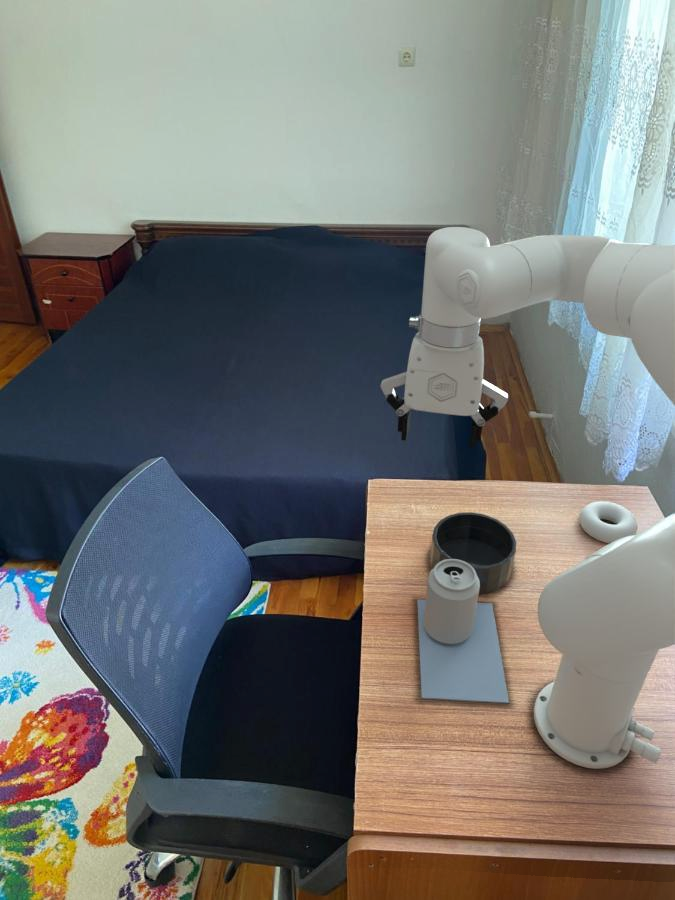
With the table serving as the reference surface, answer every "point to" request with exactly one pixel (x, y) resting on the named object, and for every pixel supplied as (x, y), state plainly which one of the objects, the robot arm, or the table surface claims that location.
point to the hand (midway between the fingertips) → (438, 439)
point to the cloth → (463, 662)
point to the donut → (609, 512)
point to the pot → (476, 547)
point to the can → (451, 601)
